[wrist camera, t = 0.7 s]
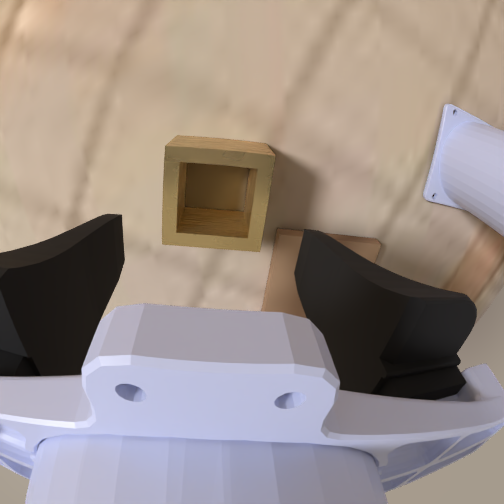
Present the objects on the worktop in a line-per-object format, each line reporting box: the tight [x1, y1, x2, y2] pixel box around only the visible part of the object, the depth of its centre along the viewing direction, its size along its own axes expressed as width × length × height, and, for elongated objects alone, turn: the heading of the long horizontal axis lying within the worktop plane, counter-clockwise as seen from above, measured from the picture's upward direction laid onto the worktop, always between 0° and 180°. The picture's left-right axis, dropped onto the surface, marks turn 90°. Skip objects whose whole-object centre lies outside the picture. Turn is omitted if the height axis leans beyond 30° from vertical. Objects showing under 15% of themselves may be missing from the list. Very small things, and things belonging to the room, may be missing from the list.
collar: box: [162, 135, 276, 252], centre depth 18 cm, size 6×6×4 cm
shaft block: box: [261, 228, 381, 318], centre depth 22 cm, size 8×8×4 cm
